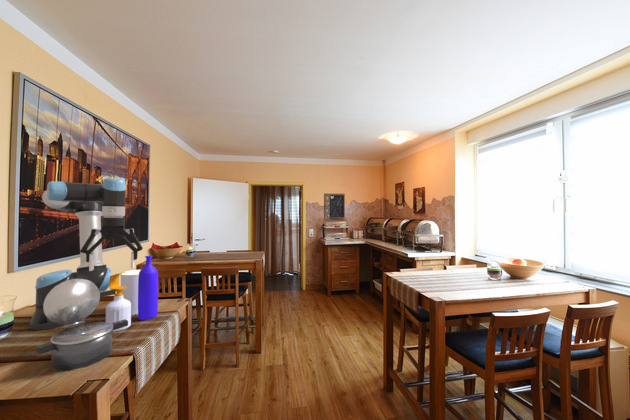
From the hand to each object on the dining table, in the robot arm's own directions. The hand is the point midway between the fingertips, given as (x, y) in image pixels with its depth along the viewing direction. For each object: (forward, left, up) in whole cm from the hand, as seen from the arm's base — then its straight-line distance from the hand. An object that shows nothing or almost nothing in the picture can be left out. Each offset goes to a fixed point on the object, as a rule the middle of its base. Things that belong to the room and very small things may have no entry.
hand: (112, 268), depth 108 cm
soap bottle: (-9, +6, -28) cm, 30 cm away
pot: (+8, -11, -28) cm, 31 cm away
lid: (-1, -9, -10) cm, 14 cm away
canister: (-25, +21, -28) cm, 43 cm away
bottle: (-10, +19, -28) cm, 36 cm away
